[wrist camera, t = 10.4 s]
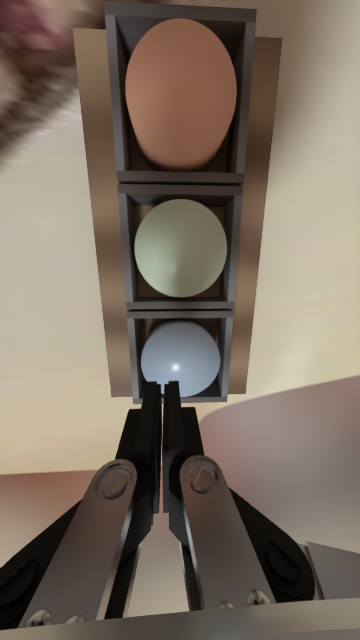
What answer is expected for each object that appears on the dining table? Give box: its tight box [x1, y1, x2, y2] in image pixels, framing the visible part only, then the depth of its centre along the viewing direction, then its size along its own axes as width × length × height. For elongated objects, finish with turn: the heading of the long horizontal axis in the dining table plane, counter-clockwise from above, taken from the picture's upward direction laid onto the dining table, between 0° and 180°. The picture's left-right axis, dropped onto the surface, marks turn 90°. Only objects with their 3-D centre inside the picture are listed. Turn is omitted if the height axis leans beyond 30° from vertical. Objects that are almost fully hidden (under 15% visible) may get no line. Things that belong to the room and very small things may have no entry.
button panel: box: [73, 1, 282, 404], centre depth 16 cm, size 26×13×6 cm, turn 0°
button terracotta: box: [126, 18, 237, 172], centre depth 12 cm, size 6×6×2 cm
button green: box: [135, 199, 227, 297], centre depth 14 cm, size 6×6×2 cm
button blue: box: [141, 318, 220, 397], centre depth 16 cm, size 6×6×2 cm
